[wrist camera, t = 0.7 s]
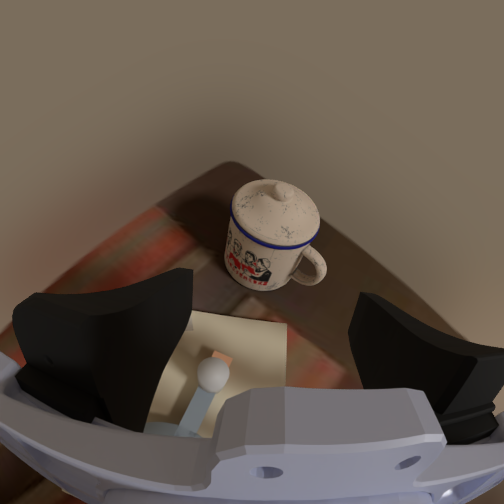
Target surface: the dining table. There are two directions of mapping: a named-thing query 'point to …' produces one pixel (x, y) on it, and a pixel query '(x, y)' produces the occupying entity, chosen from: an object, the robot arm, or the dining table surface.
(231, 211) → the teacup with lid
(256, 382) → the cream flat board
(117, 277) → the dining table surface
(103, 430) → the robot arm
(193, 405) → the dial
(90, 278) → the dining table surface
